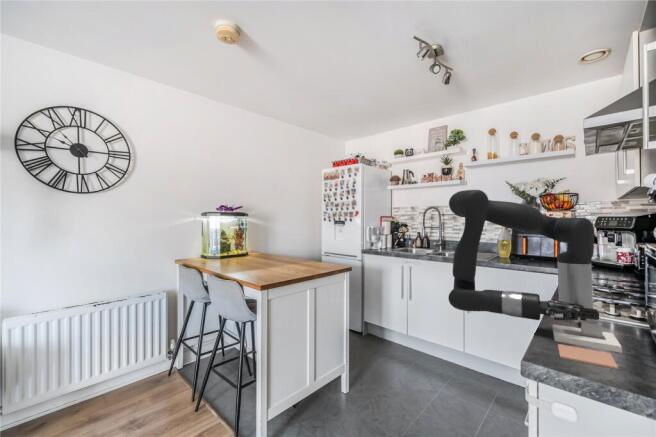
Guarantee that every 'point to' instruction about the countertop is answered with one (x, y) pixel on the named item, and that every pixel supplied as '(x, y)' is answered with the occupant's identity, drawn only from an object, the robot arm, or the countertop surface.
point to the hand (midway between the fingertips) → (598, 314)
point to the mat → (587, 356)
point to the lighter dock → (585, 338)
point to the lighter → (590, 328)
